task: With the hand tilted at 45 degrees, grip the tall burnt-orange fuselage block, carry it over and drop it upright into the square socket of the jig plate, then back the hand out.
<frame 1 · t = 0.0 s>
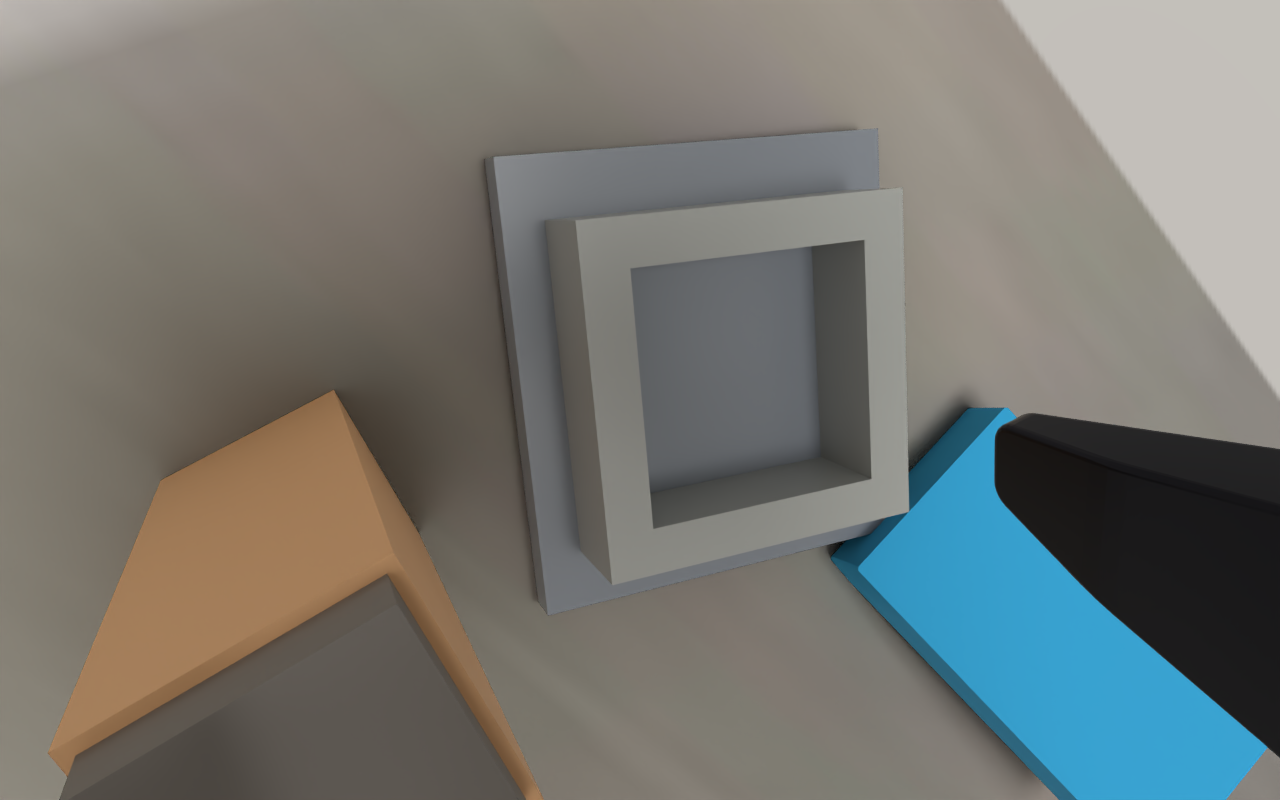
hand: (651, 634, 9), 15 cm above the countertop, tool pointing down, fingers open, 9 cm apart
blue block: (1013, 635, 33), on the countertop
jig cradle: (700, 361, 26), on the countertop
fuselage block: (297, 508, 23), on the countertop
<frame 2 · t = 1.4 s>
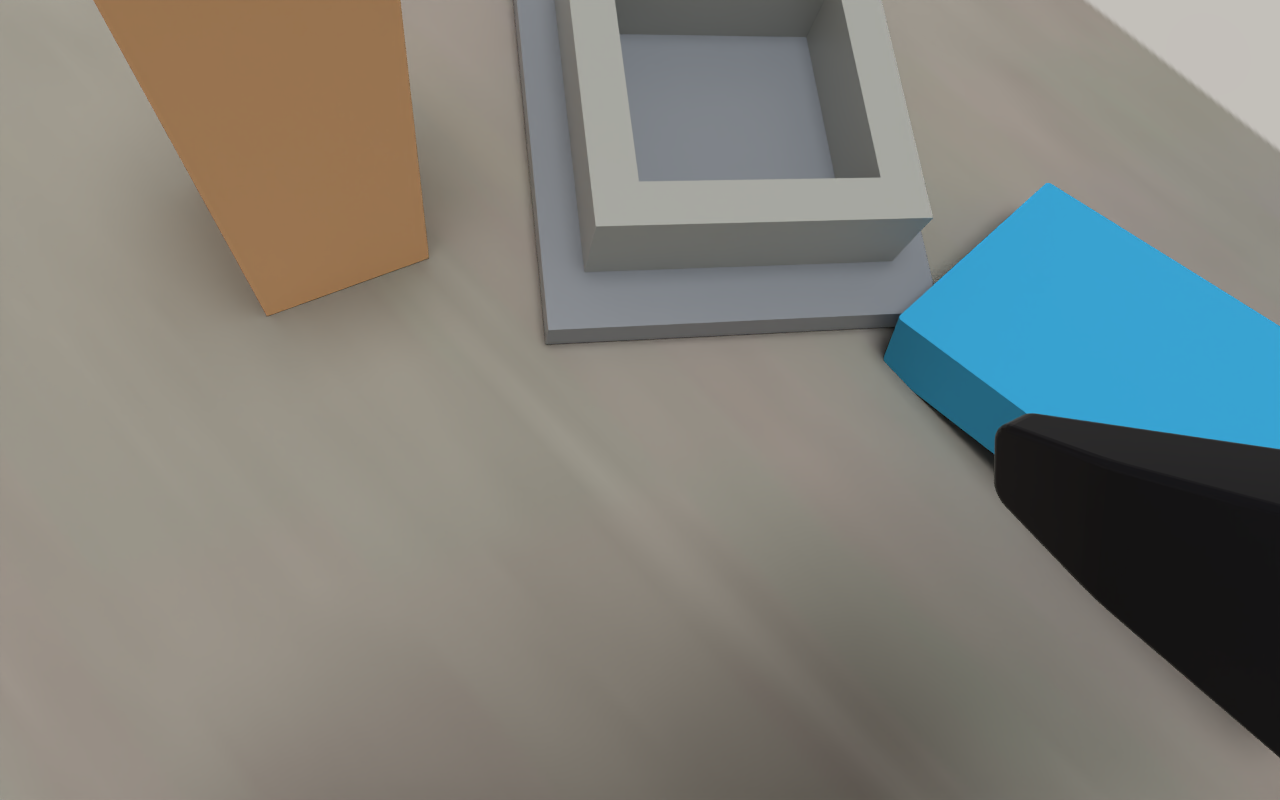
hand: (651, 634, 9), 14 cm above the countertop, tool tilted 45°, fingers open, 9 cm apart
blue block: (1162, 517, 27), on the countertop
jig cradle: (712, 147, 27), on the countertop
fuselage block: (318, 217, 25), on the countertop
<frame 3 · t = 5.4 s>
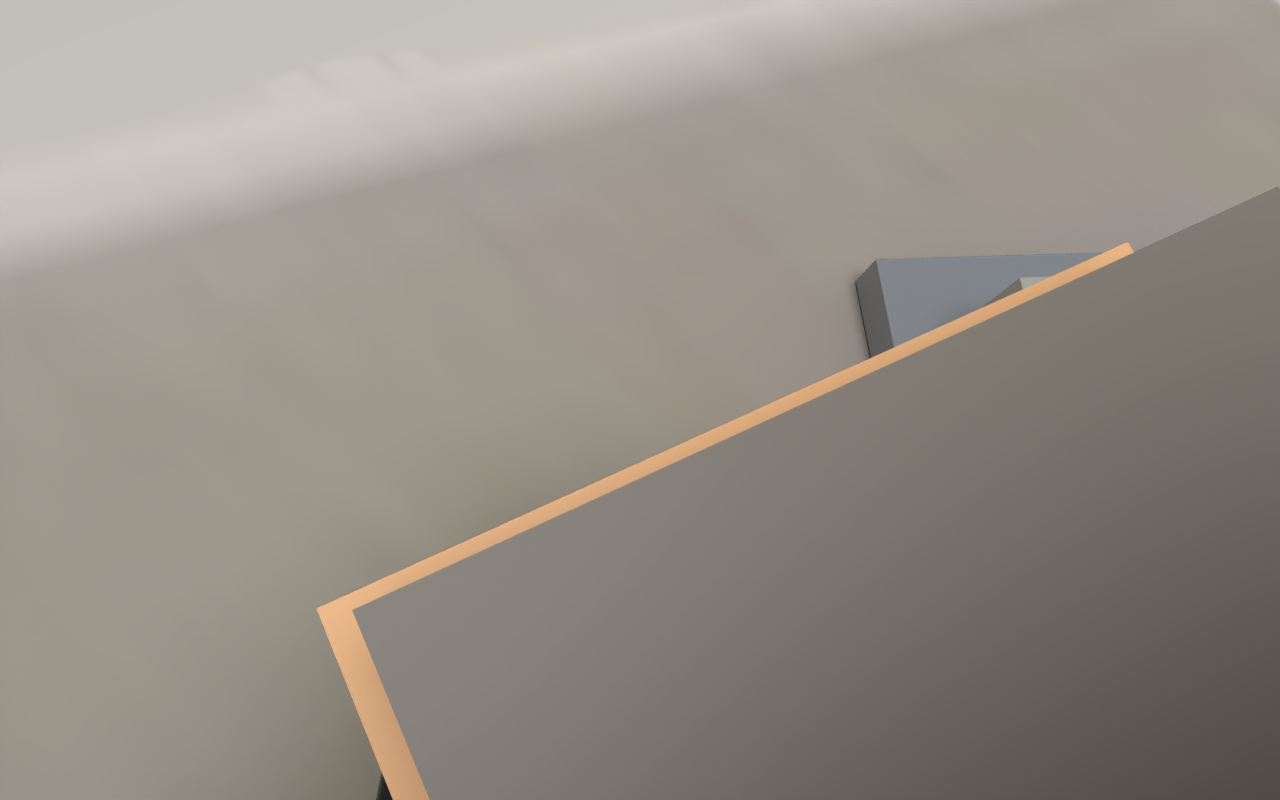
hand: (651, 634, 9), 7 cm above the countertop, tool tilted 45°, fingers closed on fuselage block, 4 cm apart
jig cradle: (1175, 554, 18), on the countertop
fuselage block: (616, 738, 15), on the countertop, touching gripper
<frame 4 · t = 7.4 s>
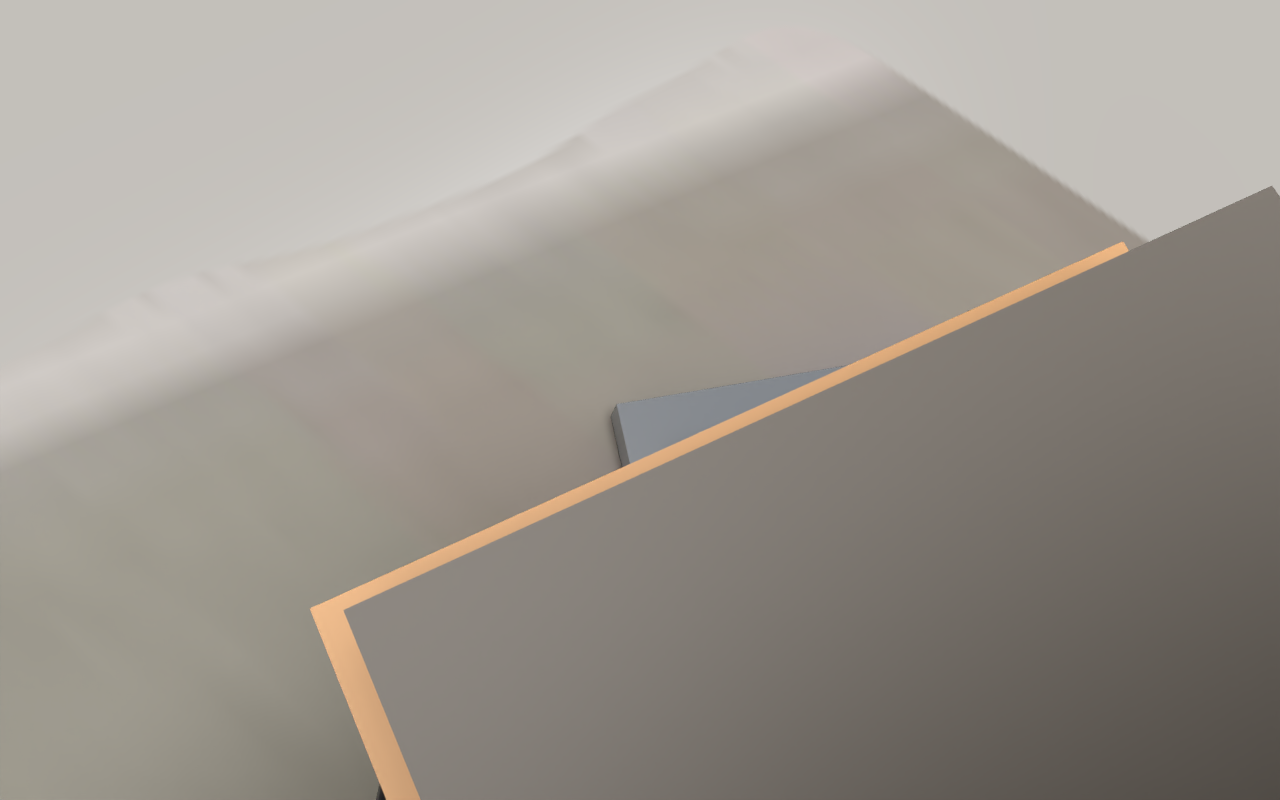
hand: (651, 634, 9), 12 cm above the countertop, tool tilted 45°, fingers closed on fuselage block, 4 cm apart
jig cradle: (878, 609, 23), on the countertop
fuselage block: (615, 738, 15), point 6 cm above the countertop, touching gripper
when the fingers open (9 cm above the countertop, at t = 9.8 s): fuselage block drops 1 cm, resting on jig cradle.
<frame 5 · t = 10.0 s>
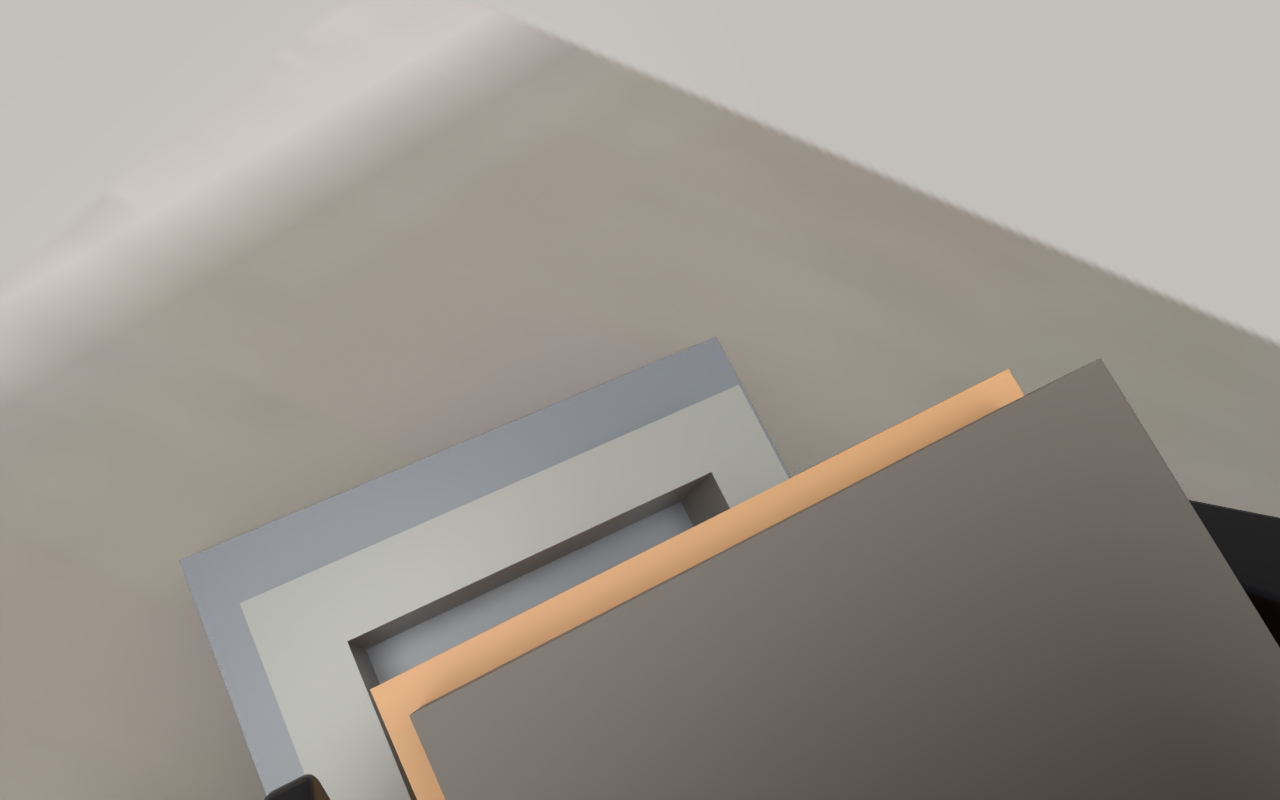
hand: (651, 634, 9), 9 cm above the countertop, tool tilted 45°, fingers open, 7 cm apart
jig cradle: (598, 732, 17), on the countertop
fuselage block: (606, 730, 16), point 1 cm above the countertop, touching jig cradle
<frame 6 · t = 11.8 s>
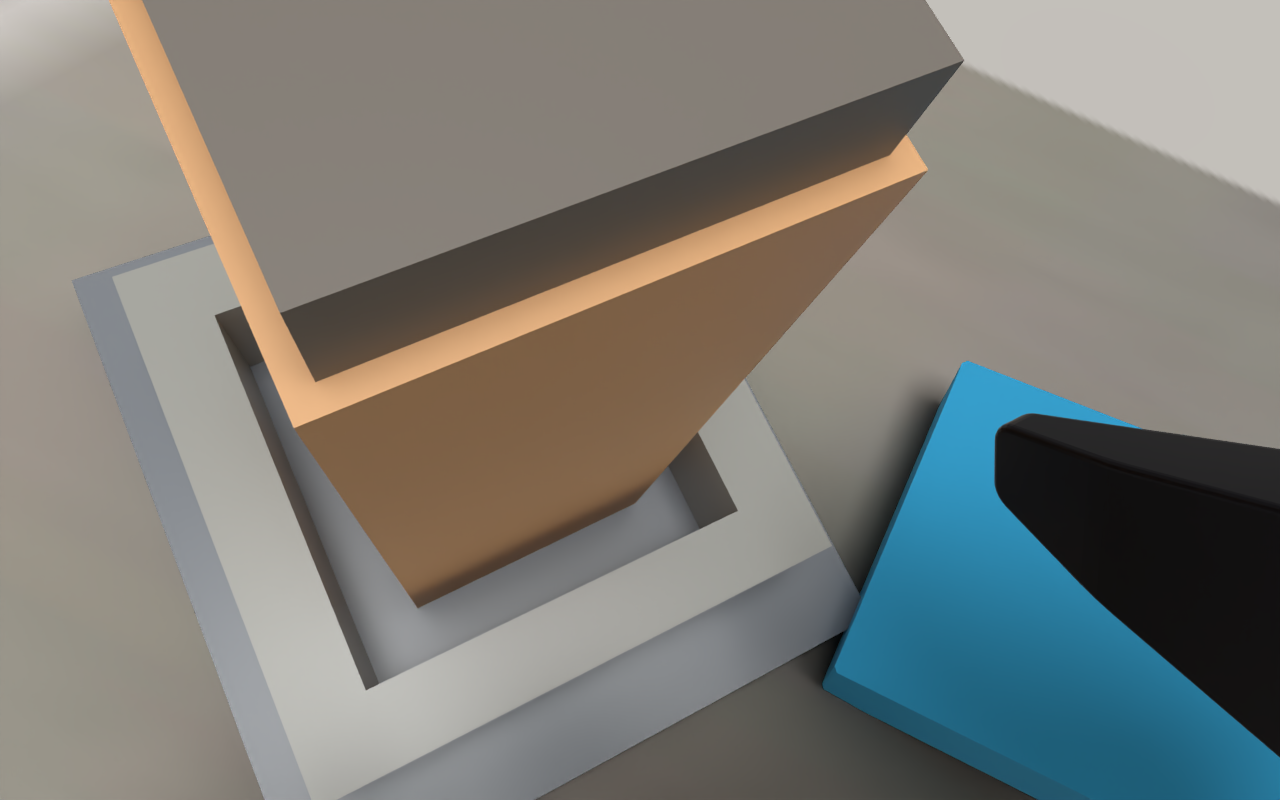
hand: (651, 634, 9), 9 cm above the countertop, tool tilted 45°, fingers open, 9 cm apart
blue block: (1229, 740, 20), on the countertop
jig cradle: (479, 464, 18), on the countertop
fuselage block: (480, 448, 17), point 1 cm above the countertop, touching jig cradle
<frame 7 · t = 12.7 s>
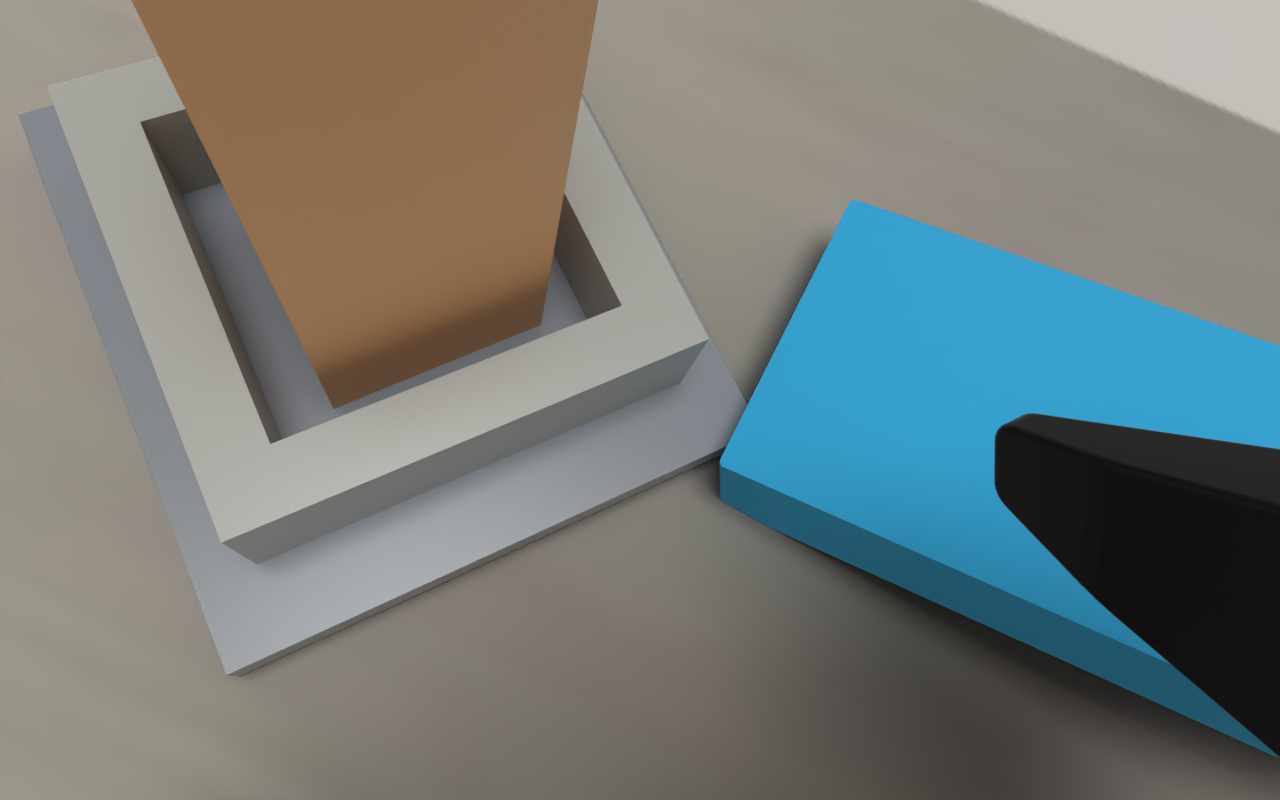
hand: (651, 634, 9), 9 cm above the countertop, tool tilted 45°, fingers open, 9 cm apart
blue block: (1109, 561, 21), on the countertop
jig cradle: (399, 295, 20), on the countertop
fuselage block: (396, 272, 19), point 1 cm above the countertop, touching jig cradle
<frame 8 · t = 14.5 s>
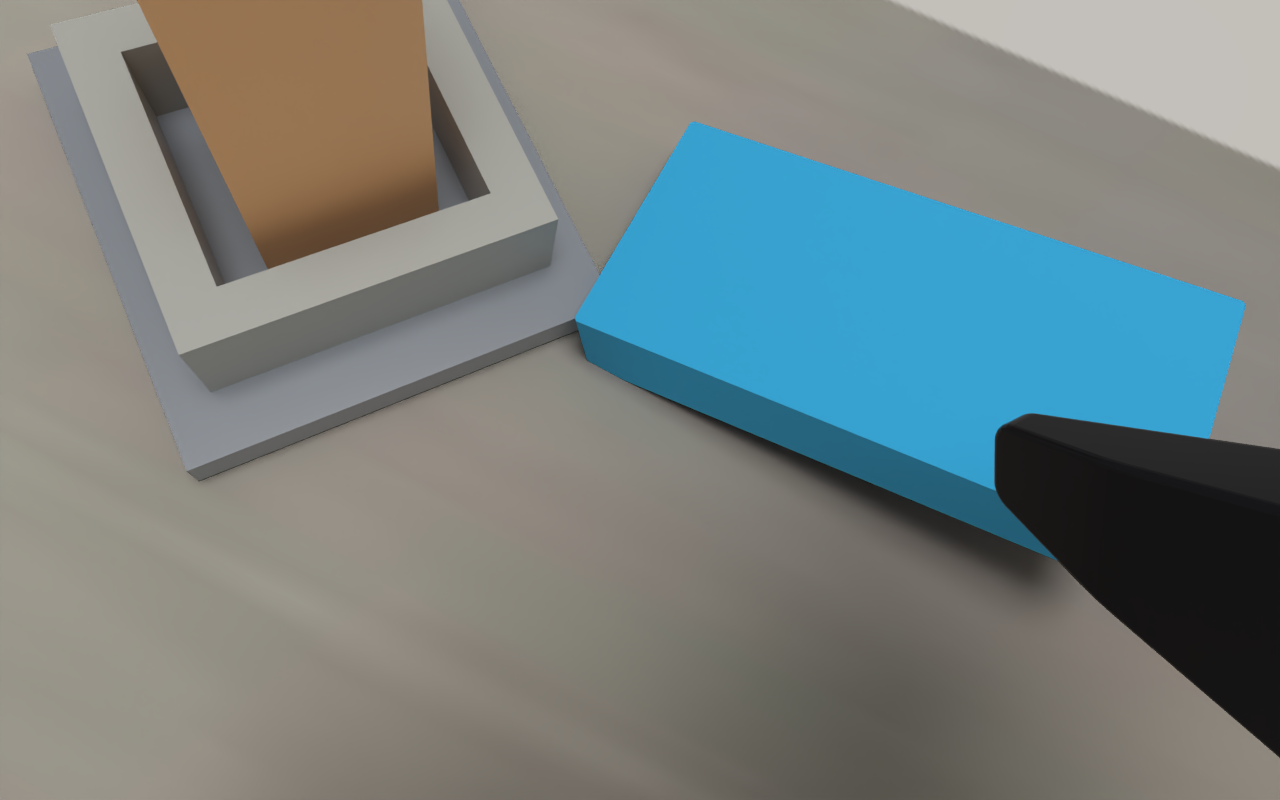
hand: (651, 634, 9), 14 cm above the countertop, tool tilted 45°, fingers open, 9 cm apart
blue block: (909, 415, 26), on the countertop
jig cradle: (330, 199, 25), on the countertop
fuselage block: (325, 178, 24), point 1 cm above the countertop, touching jig cradle
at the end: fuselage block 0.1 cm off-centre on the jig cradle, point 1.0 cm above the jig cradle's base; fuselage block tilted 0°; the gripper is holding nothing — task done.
